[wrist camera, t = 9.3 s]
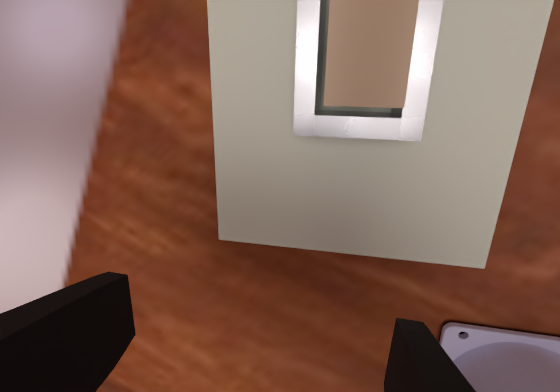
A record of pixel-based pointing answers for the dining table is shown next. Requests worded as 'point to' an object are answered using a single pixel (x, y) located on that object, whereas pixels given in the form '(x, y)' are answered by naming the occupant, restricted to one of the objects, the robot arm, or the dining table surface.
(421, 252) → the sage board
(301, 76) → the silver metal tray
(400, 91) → the wooden block
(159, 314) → the dining table surface
